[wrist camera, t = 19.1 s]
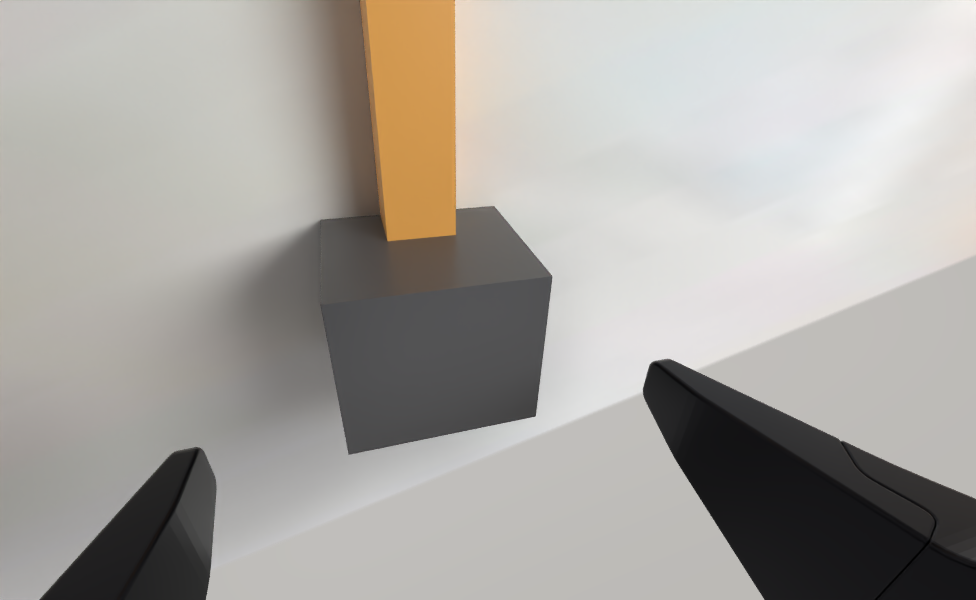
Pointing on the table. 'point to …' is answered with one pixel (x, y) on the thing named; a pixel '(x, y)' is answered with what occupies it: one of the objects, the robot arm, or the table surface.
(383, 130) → the grey-capped orange bar
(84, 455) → the table surface
